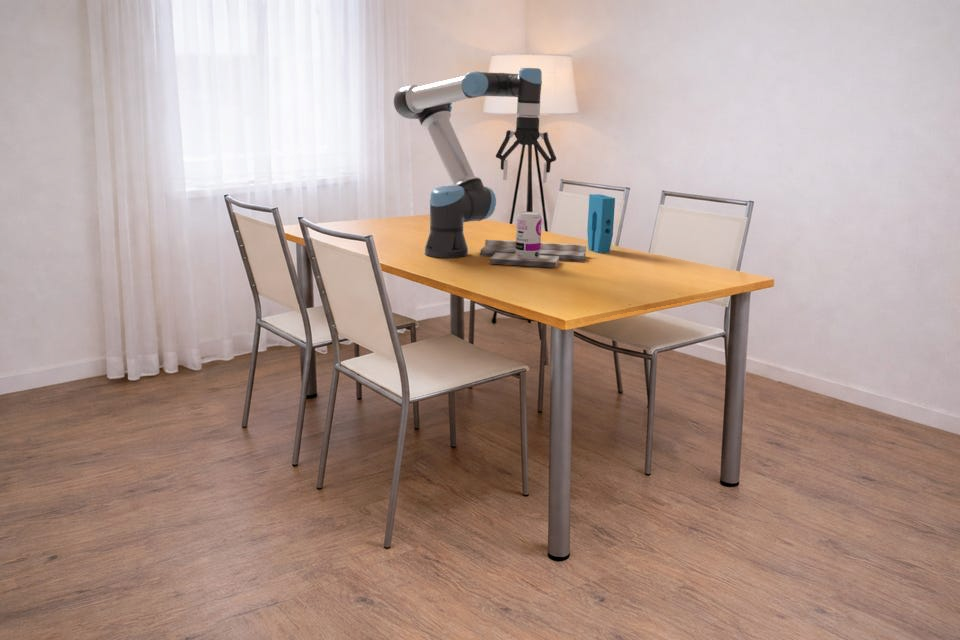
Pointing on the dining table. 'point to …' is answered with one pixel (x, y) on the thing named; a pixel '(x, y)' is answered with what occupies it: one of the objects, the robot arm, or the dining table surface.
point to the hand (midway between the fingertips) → (524, 181)
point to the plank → (513, 260)
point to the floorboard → (549, 249)
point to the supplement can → (528, 235)
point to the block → (600, 222)
